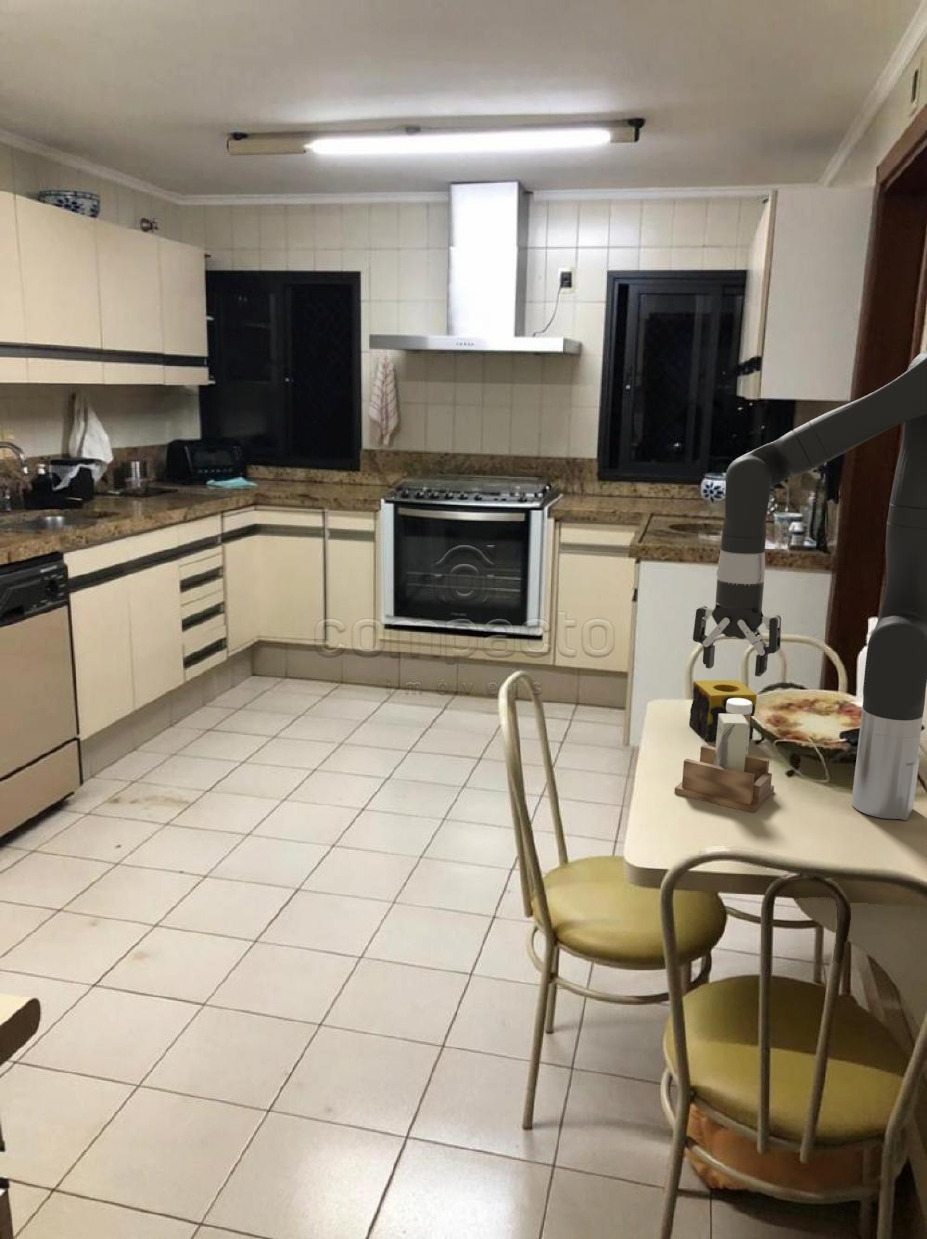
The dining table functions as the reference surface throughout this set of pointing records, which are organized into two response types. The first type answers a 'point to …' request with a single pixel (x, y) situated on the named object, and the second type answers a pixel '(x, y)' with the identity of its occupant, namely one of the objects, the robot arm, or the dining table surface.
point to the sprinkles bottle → (740, 711)
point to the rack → (726, 781)
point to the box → (731, 741)
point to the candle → (716, 704)
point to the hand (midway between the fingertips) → (733, 671)
